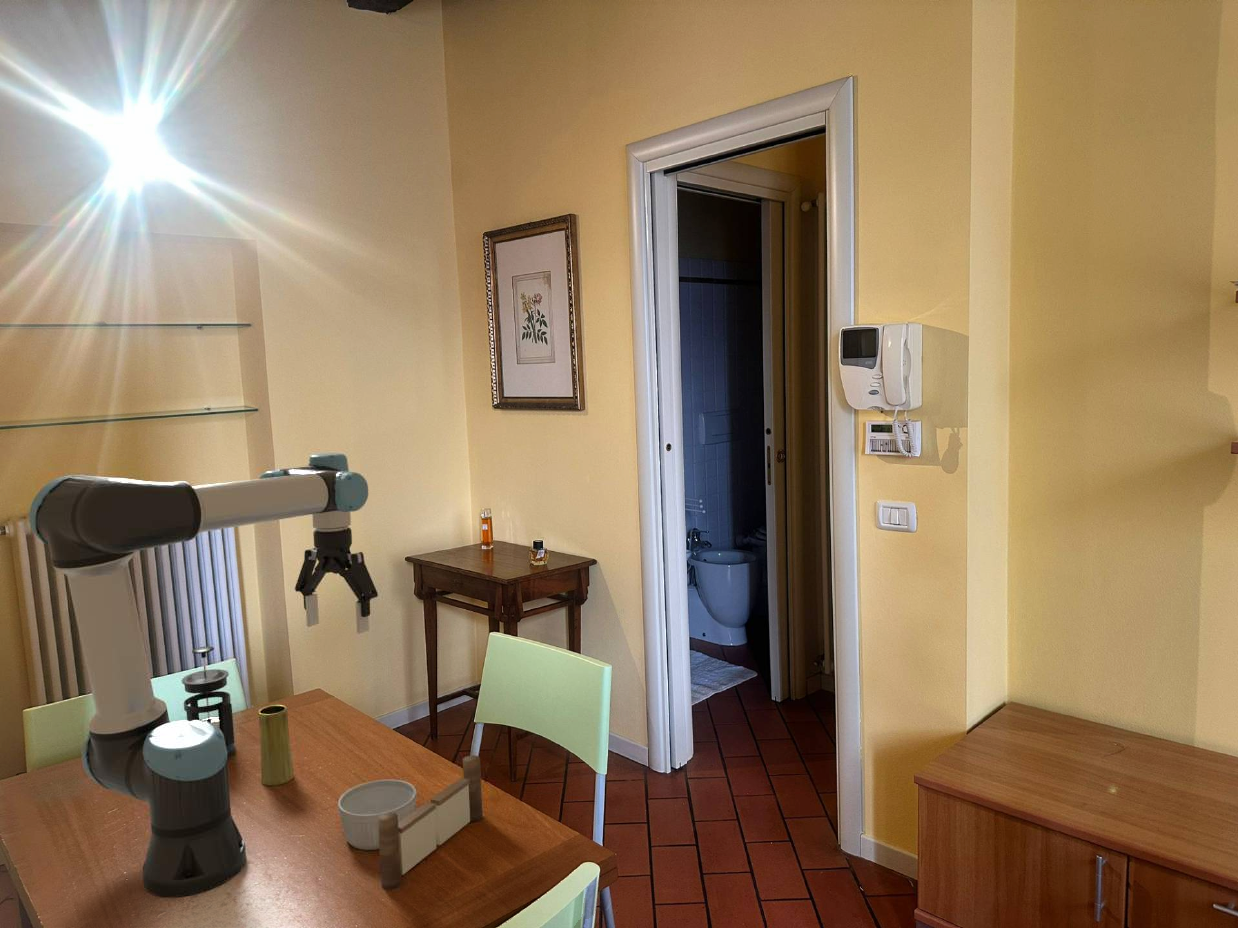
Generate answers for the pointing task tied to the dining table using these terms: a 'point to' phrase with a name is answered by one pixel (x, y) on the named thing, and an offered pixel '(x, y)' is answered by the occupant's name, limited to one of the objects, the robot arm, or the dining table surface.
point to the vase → (275, 746)
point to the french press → (206, 687)
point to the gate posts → (391, 833)
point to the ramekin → (373, 809)
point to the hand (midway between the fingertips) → (337, 628)
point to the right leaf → (451, 809)
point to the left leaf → (417, 836)
